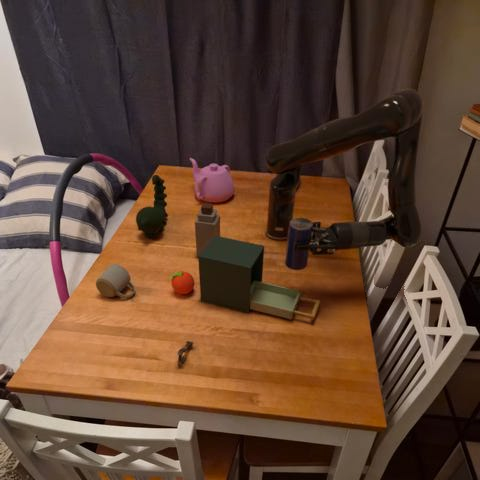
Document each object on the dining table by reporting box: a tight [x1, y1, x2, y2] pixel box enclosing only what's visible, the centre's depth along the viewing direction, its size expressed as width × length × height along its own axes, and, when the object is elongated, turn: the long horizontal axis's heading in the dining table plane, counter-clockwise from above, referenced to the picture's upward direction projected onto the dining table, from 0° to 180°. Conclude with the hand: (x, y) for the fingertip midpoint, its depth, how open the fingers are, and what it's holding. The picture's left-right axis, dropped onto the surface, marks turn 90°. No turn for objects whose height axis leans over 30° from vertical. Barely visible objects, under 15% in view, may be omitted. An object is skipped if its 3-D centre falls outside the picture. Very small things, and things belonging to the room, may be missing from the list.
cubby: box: [197, 235, 265, 314], centre depth 119 cm, size 15×12×16 cm
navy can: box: [284, 217, 313, 271], centre depth 112 cm, size 6×6×13 cm
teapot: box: [189, 157, 235, 204], centre depth 171 cm, size 22×22×14 cm
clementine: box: [167, 270, 195, 295], centre depth 122 cm, size 8×7×7 cm
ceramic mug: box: [95, 263, 136, 299], centre depth 121 cm, size 11×8×8 cm
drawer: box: [250, 280, 321, 321], centre depth 118 cm, size 21×10×3 cm, turn 70°
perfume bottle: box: [194, 202, 221, 259], centre depth 135 cm, size 7×7×18 cm
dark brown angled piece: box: [176, 340, 194, 367], centre depth 103 cm, size 2×8×4 cm, turn 165°
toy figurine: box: [135, 174, 169, 240], centre depth 147 cm, size 9×19×25 cm
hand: (291, 240), depth 111 cm, fingers closed on navy can, 6 cm apart
